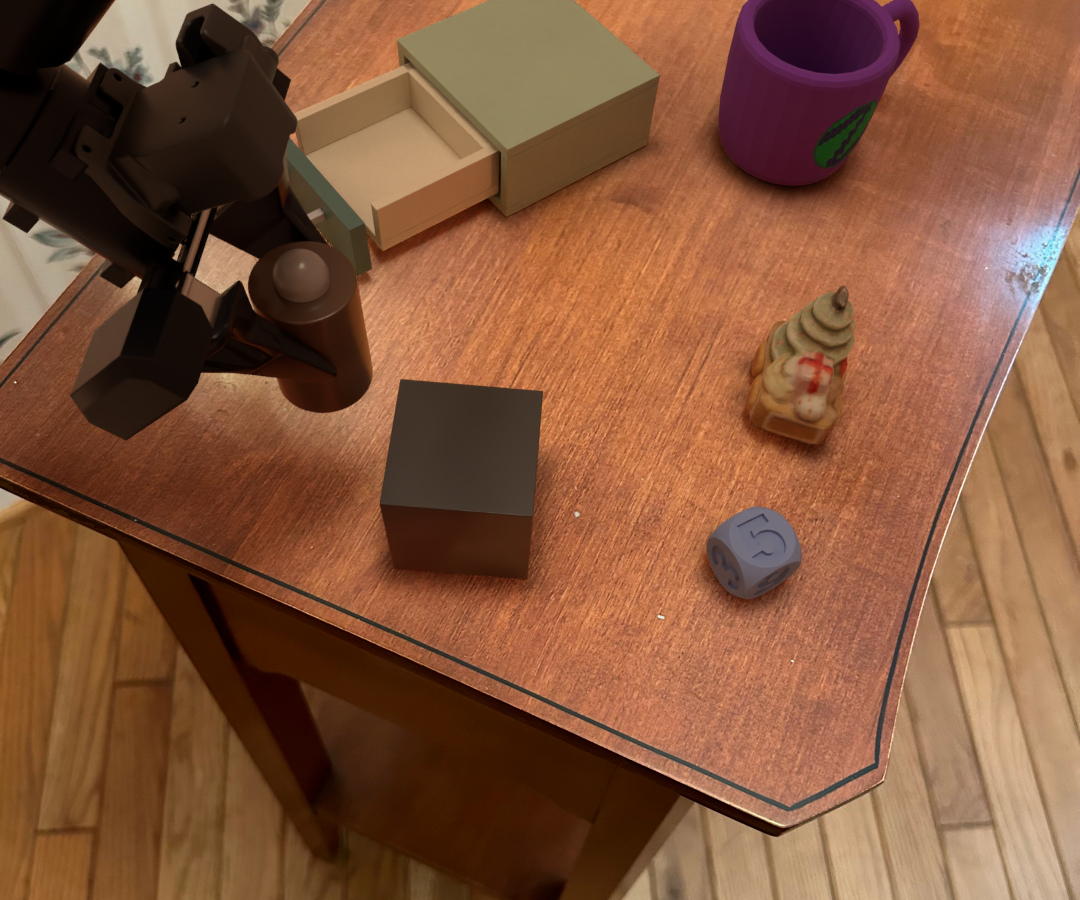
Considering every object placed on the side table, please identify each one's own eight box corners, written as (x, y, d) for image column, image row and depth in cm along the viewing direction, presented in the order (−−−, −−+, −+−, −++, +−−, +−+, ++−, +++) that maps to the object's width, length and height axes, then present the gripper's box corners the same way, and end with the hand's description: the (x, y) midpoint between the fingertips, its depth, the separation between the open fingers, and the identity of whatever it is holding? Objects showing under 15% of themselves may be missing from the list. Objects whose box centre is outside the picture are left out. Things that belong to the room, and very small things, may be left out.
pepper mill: (261, 396, 49) (219, 281, 41) (302, 326, 51) (270, 204, 44) (349, 425, 49) (324, 314, 41) (387, 353, 51) (370, 234, 43)
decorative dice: (753, 527, 58) (771, 496, 55) (790, 580, 57) (811, 551, 53) (699, 554, 57) (713, 523, 54) (736, 608, 56) (752, 580, 52)
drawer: (308, 302, 63) (296, 256, 60) (218, 191, 68) (202, 142, 64) (504, 201, 68) (505, 153, 65) (410, 104, 73) (405, 53, 69)
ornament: (833, 459, 61) (893, 363, 52) (739, 443, 61) (782, 345, 52) (837, 361, 64) (893, 256, 56) (748, 346, 65) (789, 240, 56)
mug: (773, 220, 70) (814, 104, 61) (679, 128, 74) (704, 7, 65) (937, 135, 75) (997, 16, 66) (840, 54, 79) (885, -68, 70)
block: (393, 568, 56) (379, 504, 49) (411, 454, 60) (400, 378, 52) (527, 580, 56) (533, 516, 49) (537, 465, 60) (543, 390, 52)
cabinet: (506, 217, 69) (507, 149, 64) (403, 111, 74) (396, 39, 68) (647, 144, 73) (660, 74, 68) (542, 47, 78) (546, -25, 72)
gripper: (28, 201, 28) (423, 442, 38) (189, -152, 36) (477, 121, 46) (-93, 343, 35) (267, 515, 45) (65, 19, 43) (339, 224, 53)
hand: (342, 334), depth 47 cm, fingers closed on pepper mill, 5 cm apart
